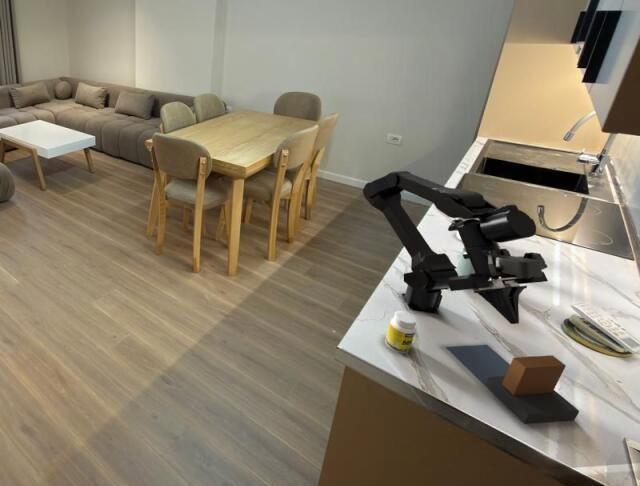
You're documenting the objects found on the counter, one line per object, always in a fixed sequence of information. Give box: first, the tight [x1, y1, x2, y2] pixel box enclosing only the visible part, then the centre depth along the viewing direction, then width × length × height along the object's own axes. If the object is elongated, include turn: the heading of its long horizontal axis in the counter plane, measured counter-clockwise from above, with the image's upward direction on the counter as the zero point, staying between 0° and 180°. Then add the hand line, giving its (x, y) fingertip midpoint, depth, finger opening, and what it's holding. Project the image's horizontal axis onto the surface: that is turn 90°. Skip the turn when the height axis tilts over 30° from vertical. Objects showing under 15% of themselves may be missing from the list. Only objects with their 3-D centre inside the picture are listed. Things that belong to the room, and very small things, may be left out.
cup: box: [456, 246, 492, 290], centre depth 109 cm, size 8×8×10 cm
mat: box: [445, 344, 576, 425], centre depth 81 cm, size 18×10×1 cm, turn 3°
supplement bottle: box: [384, 310, 417, 354], centre depth 89 cm, size 5×5×8 cm
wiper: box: [484, 354, 580, 424], centre depth 75 cm, size 8×10×9 cm
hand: (515, 323), depth 80 cm, fingers closed
